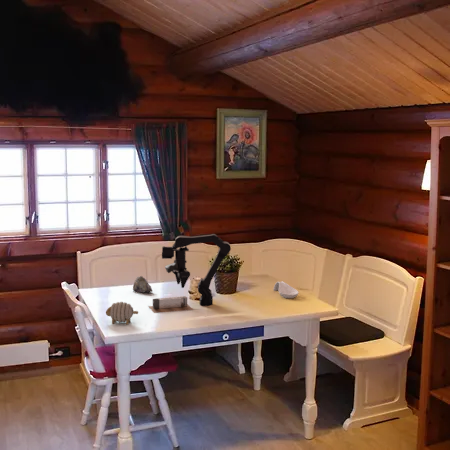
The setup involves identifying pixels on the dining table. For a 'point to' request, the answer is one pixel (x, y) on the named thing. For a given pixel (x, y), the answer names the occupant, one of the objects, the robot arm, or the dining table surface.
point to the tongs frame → (175, 297)
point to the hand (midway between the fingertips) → (180, 285)
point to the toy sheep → (120, 312)
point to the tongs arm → (168, 303)
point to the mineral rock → (141, 285)
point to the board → (170, 309)
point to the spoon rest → (285, 290)
